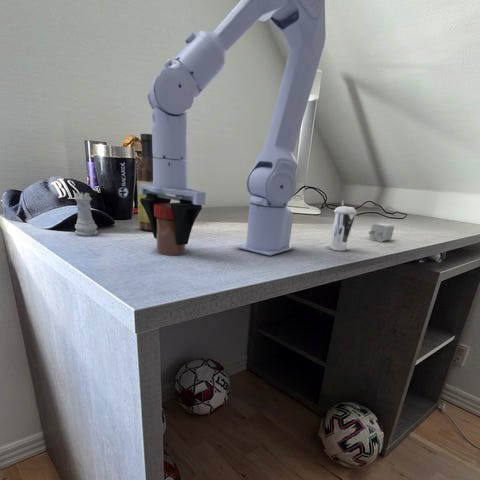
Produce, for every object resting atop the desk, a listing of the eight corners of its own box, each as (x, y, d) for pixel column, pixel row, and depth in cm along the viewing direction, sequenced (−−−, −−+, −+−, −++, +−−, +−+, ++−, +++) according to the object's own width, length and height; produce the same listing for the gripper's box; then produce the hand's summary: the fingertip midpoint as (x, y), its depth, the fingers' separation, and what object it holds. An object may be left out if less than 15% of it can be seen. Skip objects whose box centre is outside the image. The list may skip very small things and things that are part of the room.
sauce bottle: (163, 232, 79) (161, 134, 70) (135, 230, 78) (130, 131, 70) (169, 227, 84) (167, 136, 76) (143, 225, 84) (139, 134, 76)
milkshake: (343, 246, 79) (353, 201, 75) (351, 252, 75) (361, 204, 70) (324, 245, 79) (332, 199, 75) (330, 250, 74) (339, 202, 70)
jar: (171, 246, 67) (170, 206, 64) (191, 252, 65) (191, 210, 62) (150, 251, 63) (149, 207, 60) (171, 256, 61) (171, 212, 57)
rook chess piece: (76, 231, 73) (71, 191, 70) (98, 231, 74) (95, 192, 71) (73, 236, 69) (68, 194, 66) (97, 236, 71) (93, 195, 67)
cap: (146, 215, 61) (146, 203, 60) (171, 213, 65) (171, 202, 64) (170, 220, 58) (170, 208, 57) (194, 217, 62) (194, 206, 61)
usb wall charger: (390, 240, 91) (394, 225, 89) (378, 242, 87) (382, 226, 85) (376, 237, 94) (380, 222, 92) (363, 239, 89) (367, 223, 88)
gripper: (122, 155, 58) (127, 236, 64) (184, 161, 51) (183, 252, 56) (155, 157, 63) (156, 232, 69) (215, 163, 56) (211, 246, 62)
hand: (170, 241), depth 63 cm, fingers closed on cap, 5 cm apart
